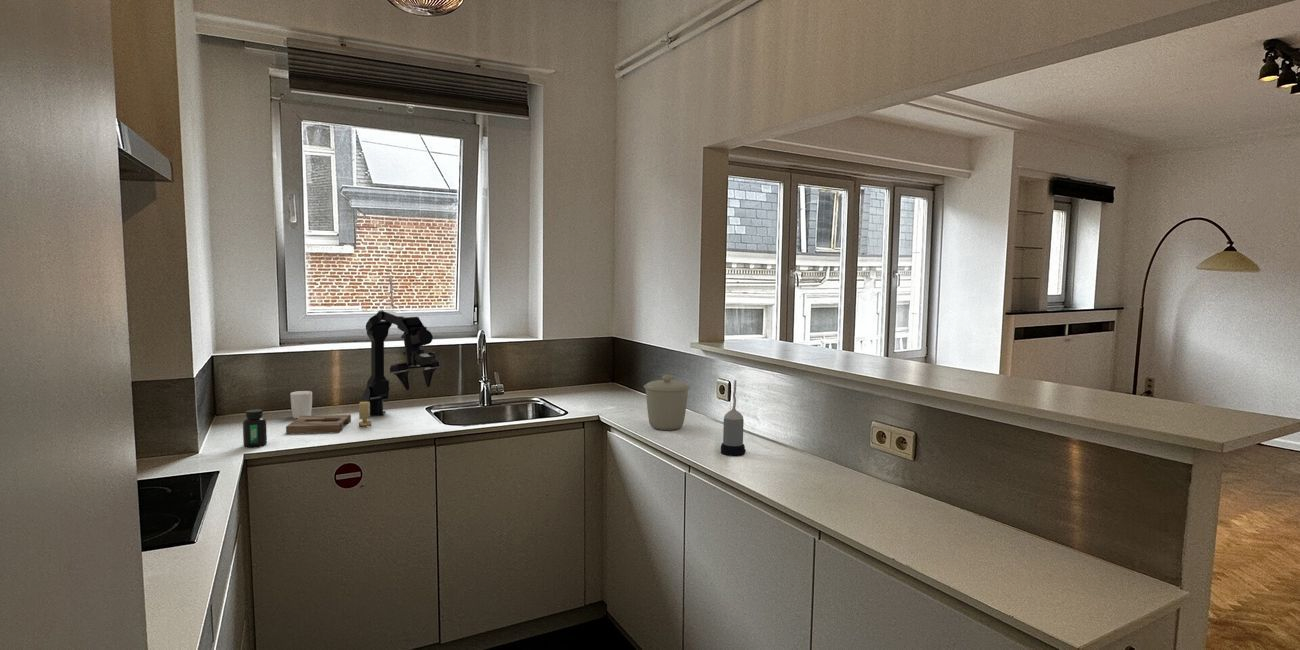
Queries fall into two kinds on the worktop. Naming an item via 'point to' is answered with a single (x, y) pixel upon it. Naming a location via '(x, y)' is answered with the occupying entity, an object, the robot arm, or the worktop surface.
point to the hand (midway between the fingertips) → (418, 388)
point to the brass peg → (364, 414)
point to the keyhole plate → (318, 424)
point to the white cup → (301, 403)
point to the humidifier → (733, 431)
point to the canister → (666, 403)
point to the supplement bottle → (254, 429)
